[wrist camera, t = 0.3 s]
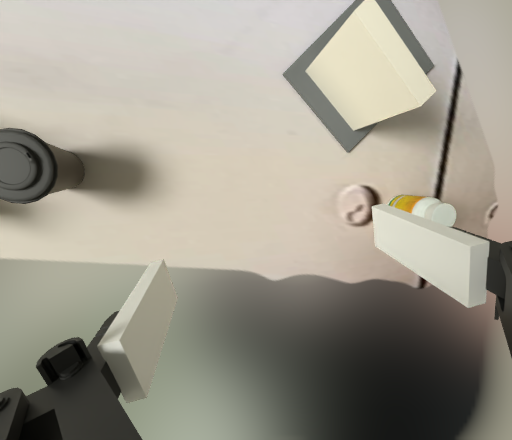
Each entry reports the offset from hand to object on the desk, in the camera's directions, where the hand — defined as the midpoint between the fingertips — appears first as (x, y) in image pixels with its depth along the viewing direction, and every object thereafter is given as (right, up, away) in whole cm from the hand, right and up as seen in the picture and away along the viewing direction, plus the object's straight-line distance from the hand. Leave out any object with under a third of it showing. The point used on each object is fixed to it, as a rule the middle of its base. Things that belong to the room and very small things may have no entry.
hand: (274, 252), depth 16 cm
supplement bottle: (+24, +4, +30) cm, 39 cm away
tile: (+11, +21, +24) cm, 35 cm away
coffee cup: (-29, +9, +21) cm, 37 cm away
